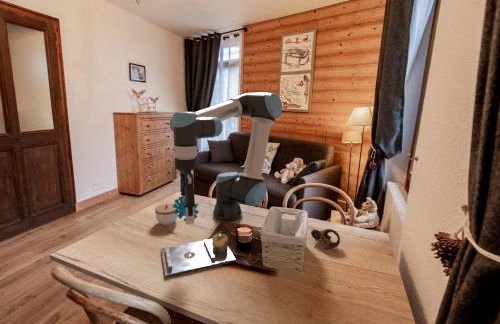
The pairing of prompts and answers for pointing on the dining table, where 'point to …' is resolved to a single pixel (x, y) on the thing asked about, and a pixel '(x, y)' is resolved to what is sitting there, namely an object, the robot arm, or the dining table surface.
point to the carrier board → (196, 256)
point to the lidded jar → (165, 214)
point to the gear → (181, 208)
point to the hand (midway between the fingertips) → (187, 217)
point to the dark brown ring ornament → (323, 236)
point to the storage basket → (284, 239)
